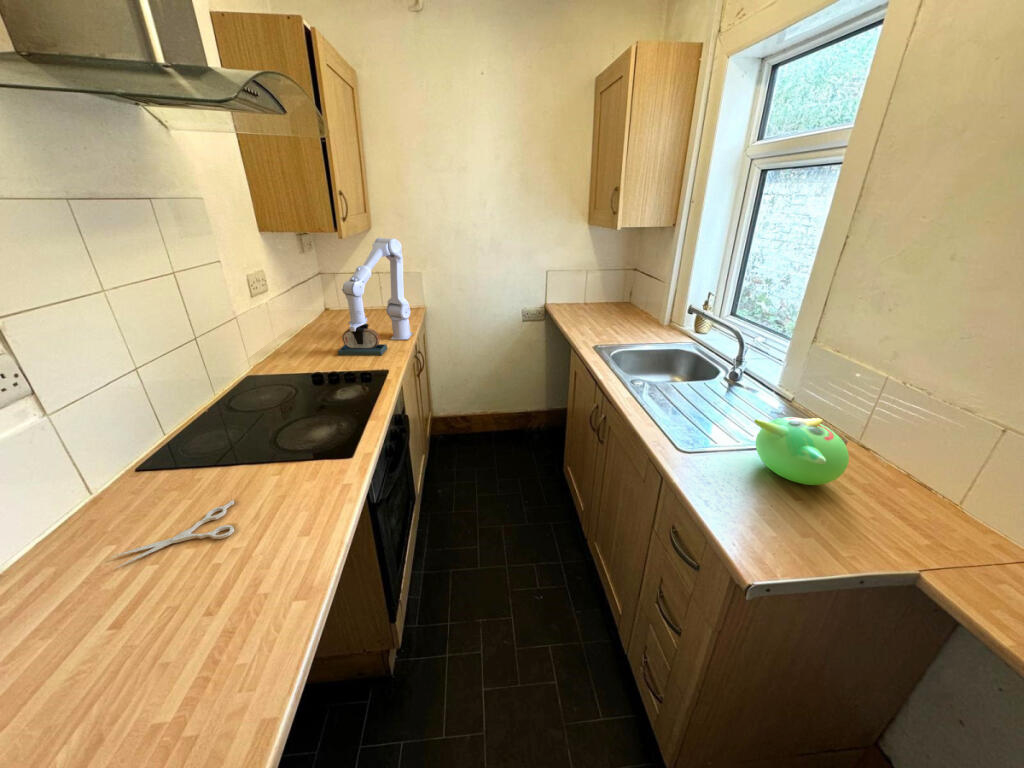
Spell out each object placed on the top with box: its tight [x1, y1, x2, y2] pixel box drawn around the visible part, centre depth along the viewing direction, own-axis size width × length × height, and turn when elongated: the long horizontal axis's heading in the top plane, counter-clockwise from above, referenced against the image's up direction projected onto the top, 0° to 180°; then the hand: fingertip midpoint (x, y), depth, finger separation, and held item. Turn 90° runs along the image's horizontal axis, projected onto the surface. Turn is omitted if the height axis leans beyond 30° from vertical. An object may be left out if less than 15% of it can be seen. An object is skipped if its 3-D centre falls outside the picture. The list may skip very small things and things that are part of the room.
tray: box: [337, 343, 388, 357], centre depth 175 cm, size 8×18×2 cm, turn 89°
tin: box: [342, 328, 381, 349], centre depth 173 cm, size 15×3×8 cm, turn 89°
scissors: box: [111, 499, 235, 569], centre depth 80 cm, size 11×1×20 cm
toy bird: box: [753, 416, 850, 486], centre depth 95 cm, size 18×17×15 cm
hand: (361, 342), depth 174 cm, fingers closed on tin, 2 cm apart
